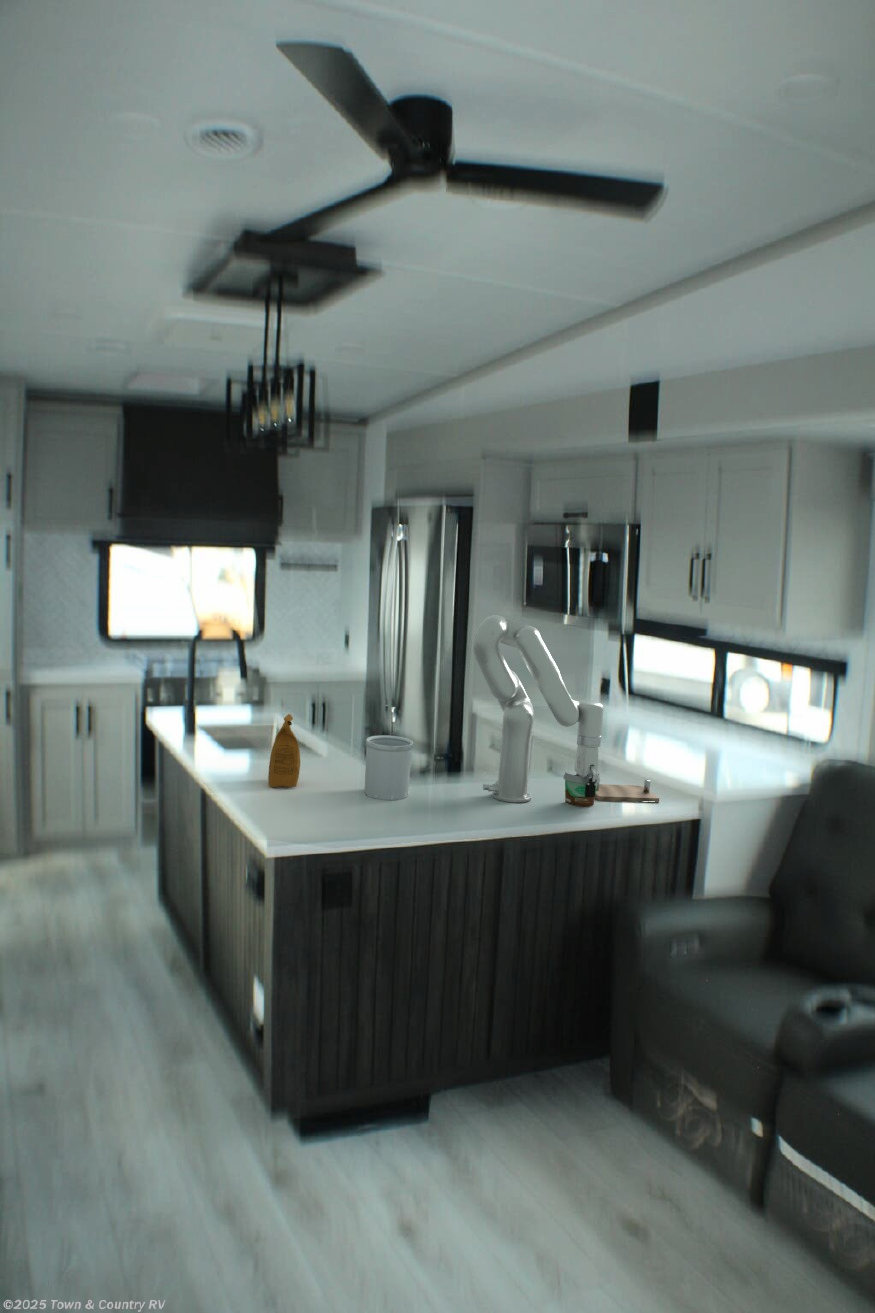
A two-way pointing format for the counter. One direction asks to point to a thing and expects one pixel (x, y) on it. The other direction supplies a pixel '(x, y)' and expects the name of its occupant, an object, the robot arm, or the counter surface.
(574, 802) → the food container
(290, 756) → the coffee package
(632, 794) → the board
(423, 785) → the counter surface
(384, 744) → the utensil holder
